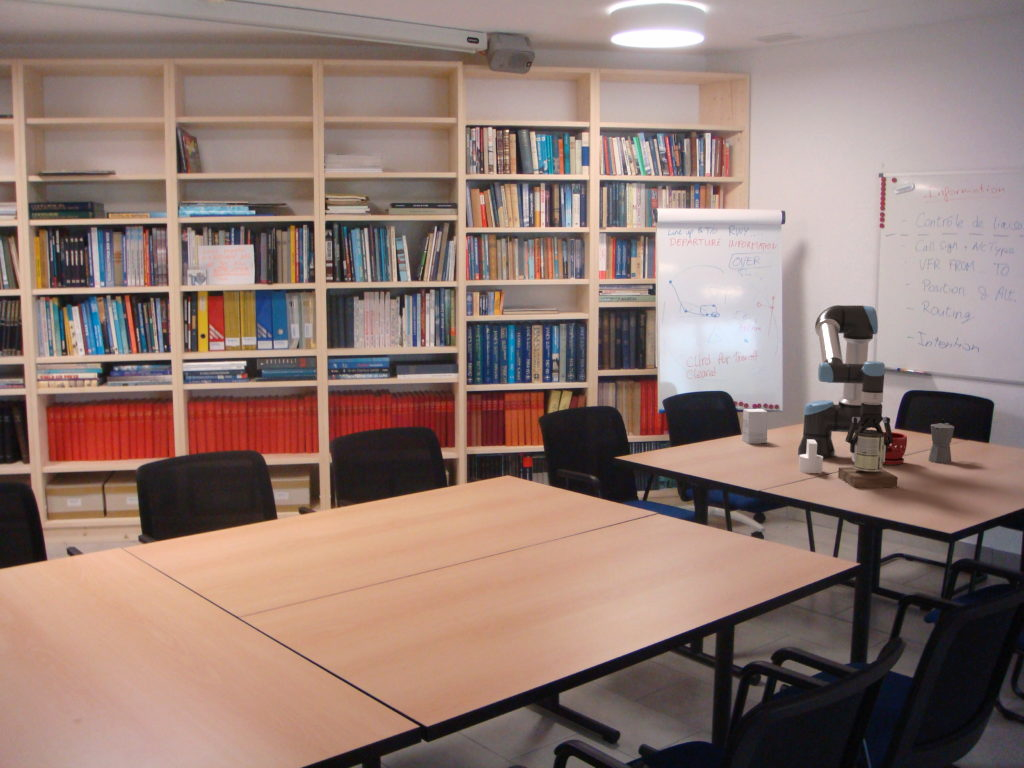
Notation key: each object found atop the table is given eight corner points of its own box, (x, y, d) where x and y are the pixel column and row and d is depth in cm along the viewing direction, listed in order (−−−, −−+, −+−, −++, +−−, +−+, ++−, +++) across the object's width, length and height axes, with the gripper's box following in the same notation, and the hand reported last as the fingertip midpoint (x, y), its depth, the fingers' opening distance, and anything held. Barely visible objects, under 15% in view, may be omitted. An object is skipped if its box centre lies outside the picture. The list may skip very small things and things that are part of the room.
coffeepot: (946, 465, 384) (949, 422, 381) (922, 462, 390) (925, 419, 388) (958, 459, 395) (961, 417, 392) (935, 456, 401) (938, 415, 399)
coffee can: (850, 465, 358) (852, 429, 356) (877, 466, 357) (880, 429, 355) (857, 471, 348) (859, 434, 346) (885, 472, 346) (888, 434, 345)
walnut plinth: (838, 477, 361) (838, 467, 360) (879, 477, 361) (879, 467, 360) (854, 487, 345) (854, 477, 344) (896, 487, 345) (897, 477, 345)
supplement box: (760, 440, 434) (762, 408, 432) (767, 443, 425) (768, 411, 423) (741, 440, 434) (742, 408, 432) (747, 444, 425) (749, 411, 423)
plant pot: (870, 458, 396) (872, 430, 395) (904, 460, 392) (906, 432, 390) (871, 464, 384) (873, 436, 382) (906, 467, 380) (908, 438, 378)
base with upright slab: (823, 474, 366) (825, 444, 364) (799, 473, 368) (801, 443, 366) (820, 469, 375) (822, 439, 373) (797, 468, 377) (799, 438, 375)
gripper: (845, 404, 345) (842, 463, 348) (906, 404, 345) (902, 463, 348) (838, 401, 352) (834, 459, 355) (897, 401, 353) (893, 459, 356)
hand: (868, 461), depth 352 cm, fingers closed on coffee can, 10 cm apart
